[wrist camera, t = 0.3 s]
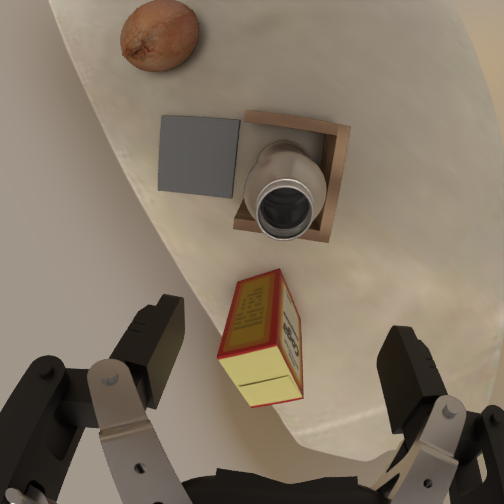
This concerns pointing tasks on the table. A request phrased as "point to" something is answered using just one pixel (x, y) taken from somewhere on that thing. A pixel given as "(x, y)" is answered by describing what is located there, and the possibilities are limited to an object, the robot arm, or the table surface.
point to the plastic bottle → (284, 191)
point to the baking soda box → (263, 341)
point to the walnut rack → (329, 167)
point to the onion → (159, 35)
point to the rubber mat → (198, 155)
